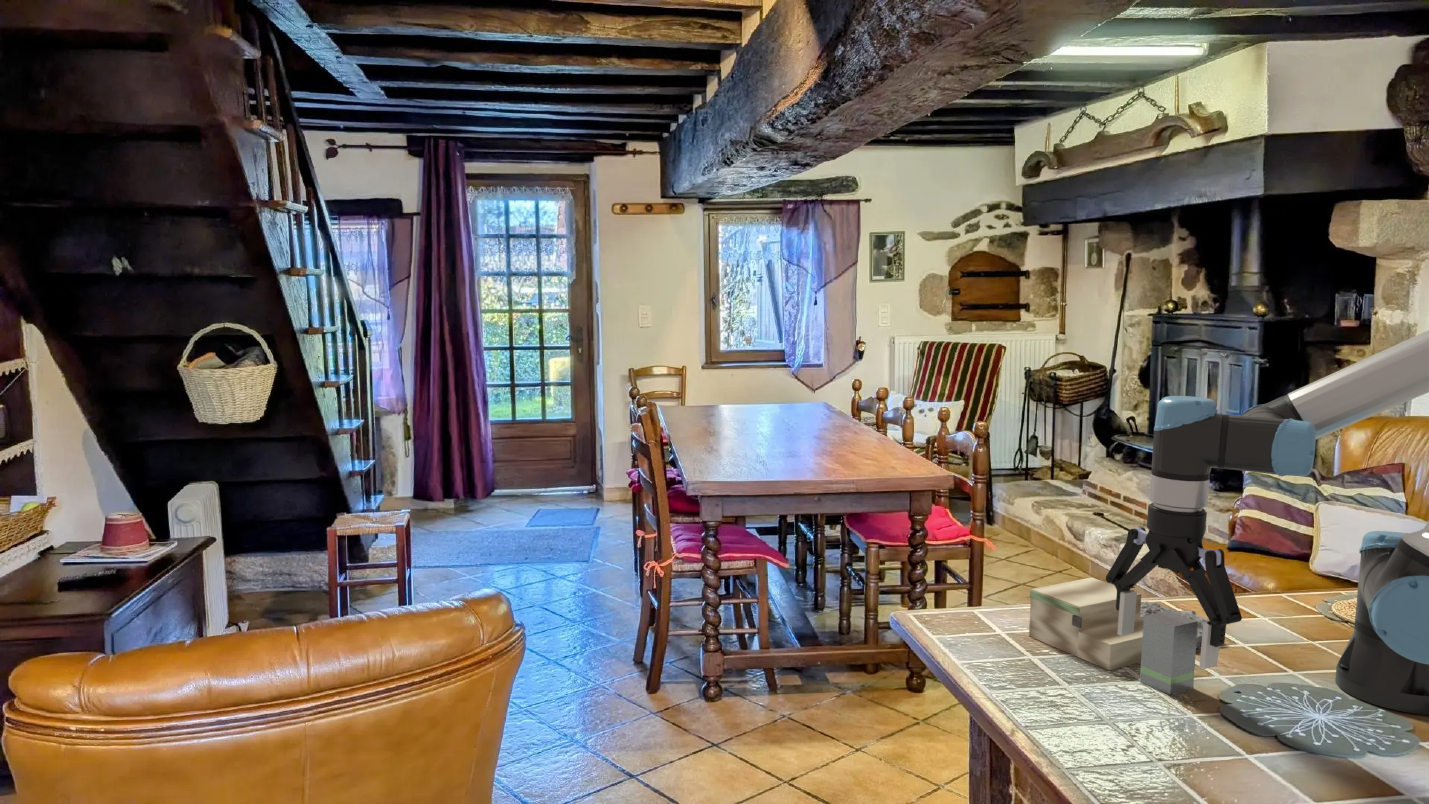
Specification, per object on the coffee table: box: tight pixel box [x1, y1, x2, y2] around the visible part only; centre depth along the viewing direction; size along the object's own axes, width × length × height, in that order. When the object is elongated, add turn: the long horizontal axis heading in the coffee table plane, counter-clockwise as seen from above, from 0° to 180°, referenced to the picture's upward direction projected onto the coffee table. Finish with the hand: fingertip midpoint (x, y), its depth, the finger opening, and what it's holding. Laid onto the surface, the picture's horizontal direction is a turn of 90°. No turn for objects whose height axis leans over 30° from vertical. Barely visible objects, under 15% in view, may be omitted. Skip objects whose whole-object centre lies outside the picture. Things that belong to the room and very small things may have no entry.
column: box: [1139, 611, 1198, 696], centre depth 138 cm, size 5×5×10 cm
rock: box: [1140, 601, 1210, 649], centre depth 159 cm, size 13×10×5 cm
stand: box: [1028, 576, 1144, 671], centre depth 154 cm, size 16×14×8 cm
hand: (1165, 649), depth 139 cm, fingers open, 13 cm apart
